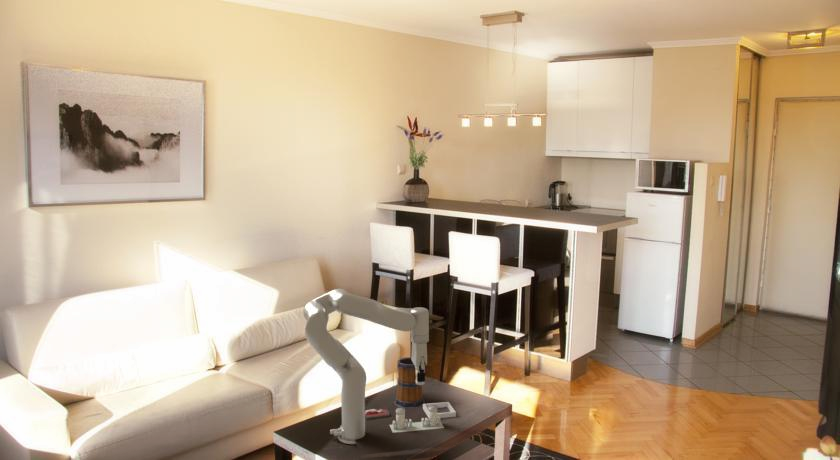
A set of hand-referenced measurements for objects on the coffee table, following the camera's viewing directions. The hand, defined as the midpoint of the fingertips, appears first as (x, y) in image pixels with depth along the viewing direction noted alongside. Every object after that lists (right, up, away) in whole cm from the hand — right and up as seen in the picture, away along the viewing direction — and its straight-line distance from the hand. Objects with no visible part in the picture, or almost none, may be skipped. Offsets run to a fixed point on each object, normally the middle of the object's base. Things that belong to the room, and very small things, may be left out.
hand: (419, 379), depth 279 cm
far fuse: (+5, -20, +3) cm, 21 cm away
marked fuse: (0, -2, 0) cm, 2 cm away
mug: (-6, -18, +33) cm, 38 cm away
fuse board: (-1, -21, +1) cm, 22 cm away
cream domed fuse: (-8, -20, 0) cm, 22 cm away
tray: (+8, -20, +16) cm, 27 cm away
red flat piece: (-23, -20, +12) cm, 33 cm away
